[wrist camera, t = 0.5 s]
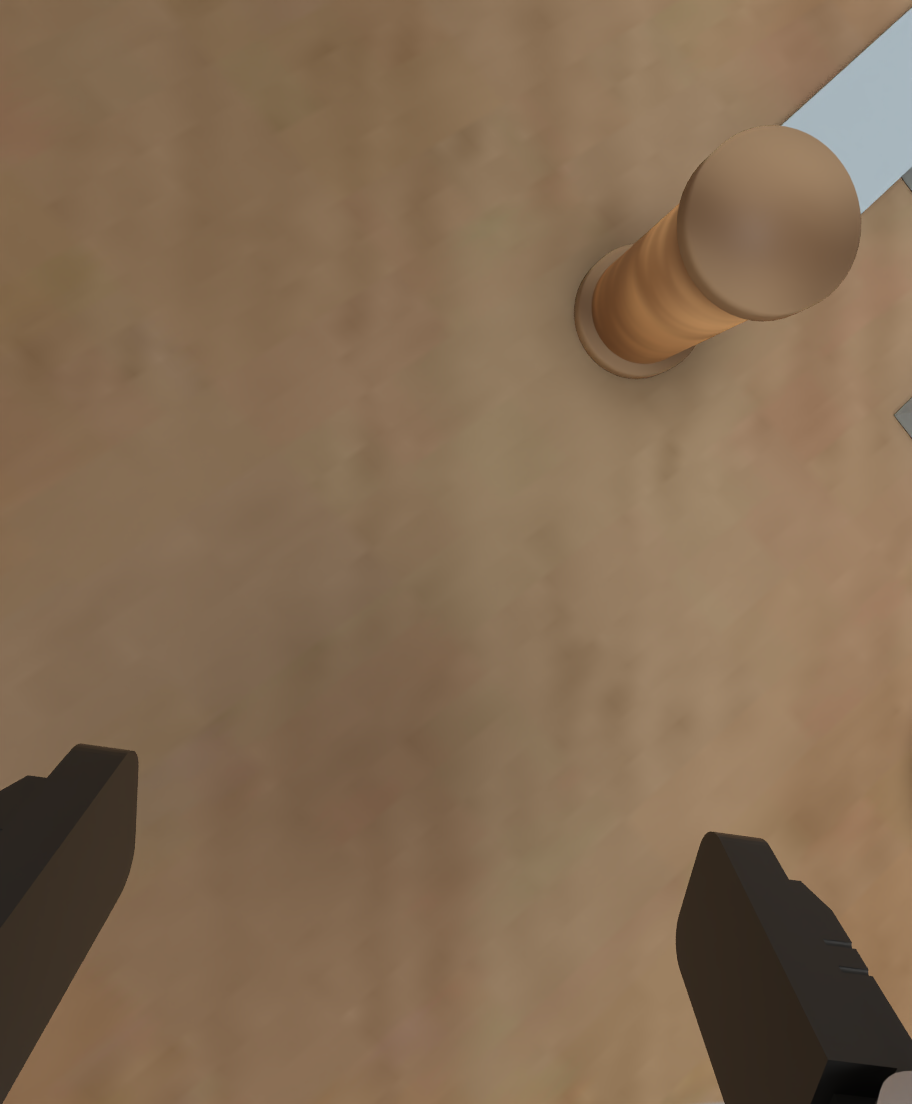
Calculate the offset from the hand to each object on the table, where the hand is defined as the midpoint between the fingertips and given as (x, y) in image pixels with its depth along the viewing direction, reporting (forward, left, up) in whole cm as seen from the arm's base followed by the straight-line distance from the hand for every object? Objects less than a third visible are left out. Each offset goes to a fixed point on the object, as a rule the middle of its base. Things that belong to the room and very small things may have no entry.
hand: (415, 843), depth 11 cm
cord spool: (-14, +14, -25) cm, 32 cm away
